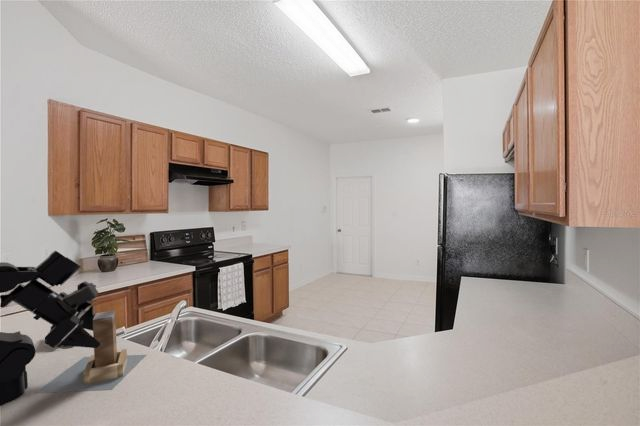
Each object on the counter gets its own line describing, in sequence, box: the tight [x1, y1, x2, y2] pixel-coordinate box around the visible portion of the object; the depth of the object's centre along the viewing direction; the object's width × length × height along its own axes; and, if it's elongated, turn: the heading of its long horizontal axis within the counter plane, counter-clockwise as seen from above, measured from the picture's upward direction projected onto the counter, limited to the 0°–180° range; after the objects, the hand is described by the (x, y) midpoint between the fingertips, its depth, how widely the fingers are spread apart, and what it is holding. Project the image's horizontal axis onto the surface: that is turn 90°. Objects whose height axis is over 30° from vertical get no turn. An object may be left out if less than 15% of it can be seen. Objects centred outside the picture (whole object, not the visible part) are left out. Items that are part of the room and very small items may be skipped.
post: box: [92, 310, 118, 368], centre depth 79 cm, size 4×5×15 cm
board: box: [34, 354, 147, 394], centre depth 79 cm, size 16×17×1 cm
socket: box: [83, 348, 128, 385], centre depth 79 cm, size 8×9×3 cm
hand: (102, 338), depth 78 cm, fingers open, 9 cm apart
